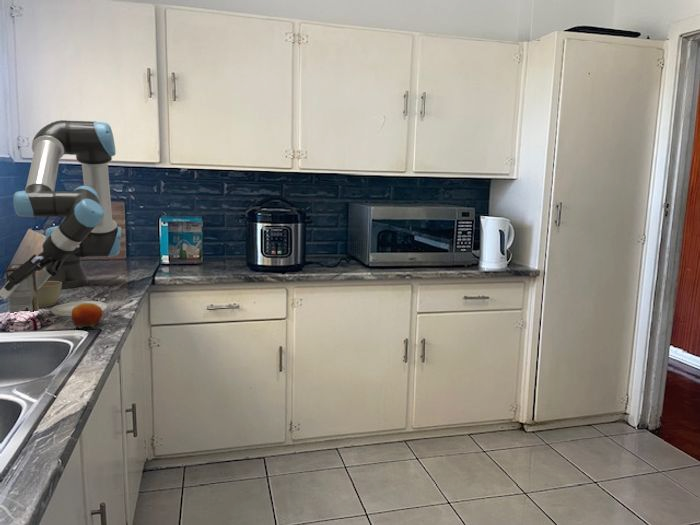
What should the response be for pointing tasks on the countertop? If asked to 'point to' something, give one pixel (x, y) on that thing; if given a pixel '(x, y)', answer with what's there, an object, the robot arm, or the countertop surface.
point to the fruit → (86, 315)
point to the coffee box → (23, 293)
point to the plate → (68, 307)
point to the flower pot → (49, 293)
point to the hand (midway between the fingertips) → (19, 291)
